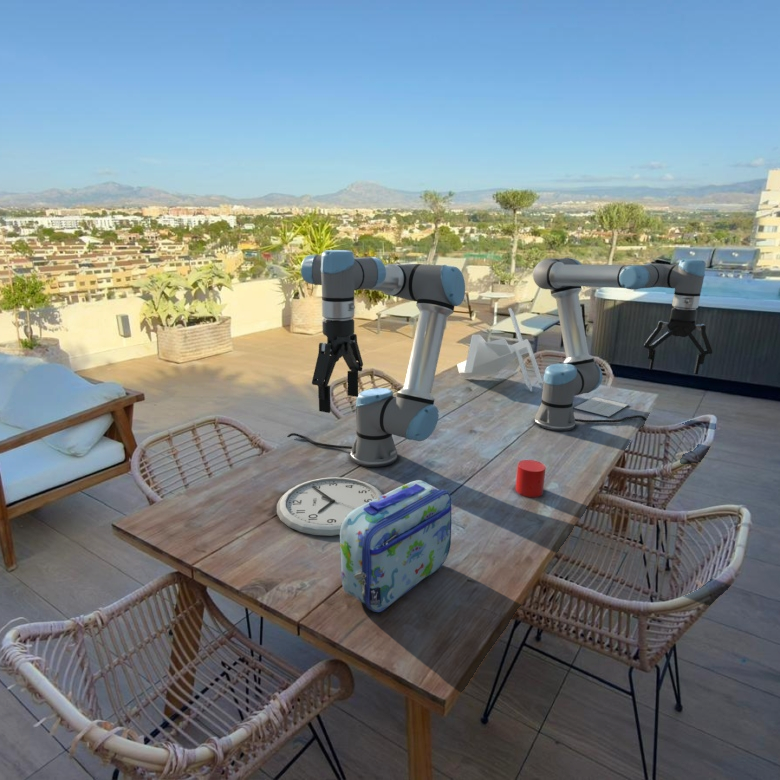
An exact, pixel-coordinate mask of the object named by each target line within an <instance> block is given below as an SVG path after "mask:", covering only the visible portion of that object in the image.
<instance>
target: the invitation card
mask: <svg viewBox="0 0 780 780" xmlns="http://www.w3.org/2000/svg"><path fill="white" fill-rule="evenodd" d="M628 406H629V404H627V403H623V402H618V401H614V400H609V399H605V398H601V397H596V396H593V397H592V398H590V399H588V400H586V401H584V402H582V403H580V404H578V405H575V406H574V407H573V409H575V410H581V411H584V412H587V413H593V414H596V415H600V416H604V417H608V418H609V417H611V416H613V415H614V414H616V413H617V412H619V411H621V410H623V409H624V408H626V407H628Z"/></svg>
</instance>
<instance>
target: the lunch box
mask: <svg viewBox="0 0 780 780" xmlns="http://www.w3.org/2000/svg"><path fill="white" fill-rule="evenodd" d="M383 494H384V495H382V496H380V497H378V498H376V499H374V500H372V501H370V502H368V503H366V504H364V505H362V506H360V507H358V508H356V509H354V510H353V511H351V512H350V513H349V514H348V515H347V516H346V518H345V519H344V521H343V523H342V526H341V530H340V535H339V551H340V574H341V576H340V577H341V585H342V588H343V589H342V590H343V591H344V593H346V594H348V595H350V596H352V597H353V598H355V599H357V600H358V601H359V602H361V603H362V604H364V605H365V606H366V608H367V609H369V610H370V611H371V612H374V613H381V612H384V611H385V610H386V609H387V608H389V607H390V606H391V605H392V604H393V603H395V602H396V601H397V600H399V599H400V598H401V597H402V596H404V595H405V594H407V593H408V592H410V591H411V590H412V589H413V588H415V587H416V586H417V585H418V584H419V583H420V582H421V581H423V580H425V579H426V578H427V577H429V576H430V575H432V574H434V573H435V572H436V571H438V570H439V569H440V568H441V567H442V566H443V565H444V563H445V562H446V560H447V558H448V556H449V553H450V550H451V549H450V548H451V545H452V543H451V542H452V497H451V494H450V492H449V491H448V490H446V489H438V488H437V487H435V486H434V485H431V484H429V483H427V482H426V481H424V480H421V479H416V480H413V481H410V482H408V483H405V484H403V485H401V486H399V487H397V488H394V489H393V490H390V491H388V492H387V493H383Z"/></svg>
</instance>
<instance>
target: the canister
mask: <svg viewBox="0 0 780 780" xmlns="http://www.w3.org/2000/svg"><path fill="white" fill-rule="evenodd" d="M546 468H547V467H546V465H545V464H544V463H542V462H540V461H537V460H533V459H523V460H520V461H518V463H517V470H516V480H515V491H516V493H517V494H519V495H520V496H524V497H527V498H539V497H541V496H543V493H544V487H545V486H544V485H545V477H546V476H545V475H546Z"/></svg>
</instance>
